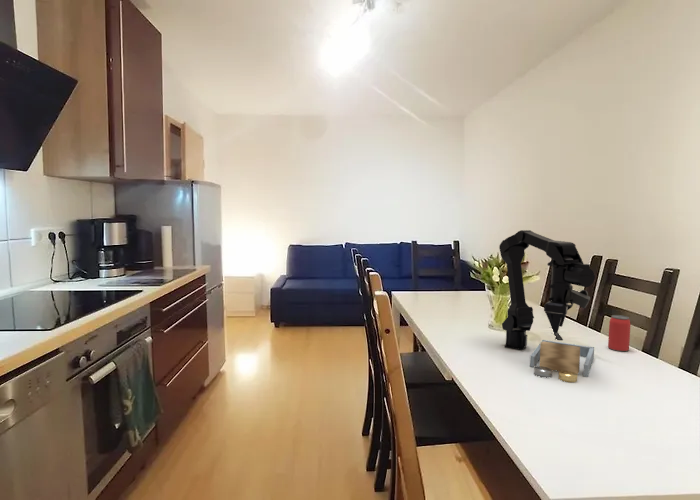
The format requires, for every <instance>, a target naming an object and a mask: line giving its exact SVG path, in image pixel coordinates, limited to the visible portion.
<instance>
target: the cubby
mask: <svg viewBox="0 0 700 500" xmlns="http://www.w3.org/2000/svg"><path fill="white" fill-rule="evenodd" d="M542 341H544V342H551V343H557V344H564V345H571V346H578V347H580V357H582V356H584V357H583V358H585V359H584V360H585V361H584V364H583V373H582V374H583V375H582V376H583V377H586V378H588V377H589V374H590V371H591V368H592V365H591V364H593V361H594V357H595V356H594V355H595V347H594V346H587V345H580V344H575V343H566V342H562V341H553V340H547V339H542V340H541V341H540V343H538V345H537V346H536V348H535V349H534V351H533V352H532V353H531V354H530V357H529V359H530V360H529V367H530V368H534V366H535V367H536V365H537V364H538V362H539V361H540V344H541V342H542ZM538 360H539V361H538ZM536 363H537V364H536Z"/></svg>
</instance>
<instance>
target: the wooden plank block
mask: <svg viewBox="0 0 700 500" xmlns="http://www.w3.org/2000/svg"><path fill="white" fill-rule="evenodd" d="M541 341H542V340H541ZM541 341H540V343H541V344H540V343H539V344H540V359H539V366H542V367H548V368H550V369H552V371H553V370H557V371H556V372H559V371H571V372H574V373H576V374H577V375H578V376H579V374H578V373H580V363H581V362H580V360H581V359H580V358H581V356H580V347H578V346H571V345H564V344H557V343H551V342H544V341H542V342H541Z"/></svg>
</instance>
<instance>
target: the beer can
mask: <svg viewBox="0 0 700 500" xmlns="http://www.w3.org/2000/svg"><path fill="white" fill-rule="evenodd" d="M631 328H632V327H631V320H630V317H629V316H626V315H620V314H613V315H611V318H610V319H609V323H608V339H607V347H608V348H609V349H610V350H612V351H616V352H628V351H629V350H630V342H631V341H630V340H631Z"/></svg>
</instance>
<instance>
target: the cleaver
mask: <svg viewBox="0 0 700 500" xmlns="http://www.w3.org/2000/svg"><path fill="white" fill-rule="evenodd" d="M559 334H560V333H559V332H558V333H554V334H553V335H554V338H555V339H554V340H556V339H557V341H563V340H564V339H563V336H561V334H560V335H559ZM555 336H556V337H555Z"/></svg>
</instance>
